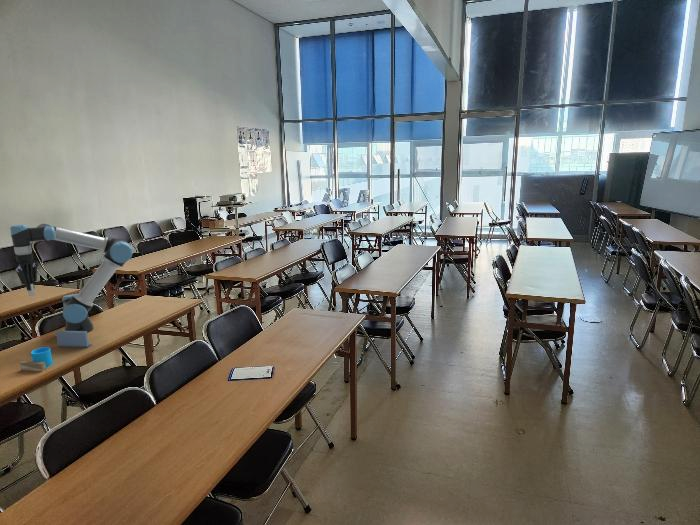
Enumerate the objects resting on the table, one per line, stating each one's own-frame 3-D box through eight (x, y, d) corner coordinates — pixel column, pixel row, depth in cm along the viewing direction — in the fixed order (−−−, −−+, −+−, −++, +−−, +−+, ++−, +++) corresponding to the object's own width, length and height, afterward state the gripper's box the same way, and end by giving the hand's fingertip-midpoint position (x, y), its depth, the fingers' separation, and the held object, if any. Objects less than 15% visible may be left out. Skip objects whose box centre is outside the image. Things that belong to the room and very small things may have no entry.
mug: (50, 367, 226) (47, 352, 224) (31, 370, 223) (28, 355, 221) (57, 357, 237) (54, 343, 235) (39, 360, 234) (36, 345, 232)
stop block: (24, 368, 225) (23, 361, 224) (46, 369, 223) (44, 361, 222) (21, 370, 223) (19, 362, 222) (42, 371, 221) (41, 363, 221)
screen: (63, 344, 254) (60, 329, 252) (92, 345, 252) (89, 330, 250) (58, 346, 251) (55, 331, 249) (87, 347, 248) (84, 332, 246)
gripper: (27, 251, 248) (35, 291, 254) (7, 256, 236) (15, 299, 241) (39, 251, 247) (47, 292, 253) (19, 256, 235) (28, 299, 240)
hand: (32, 295), depth 247 cm, fingers closed
